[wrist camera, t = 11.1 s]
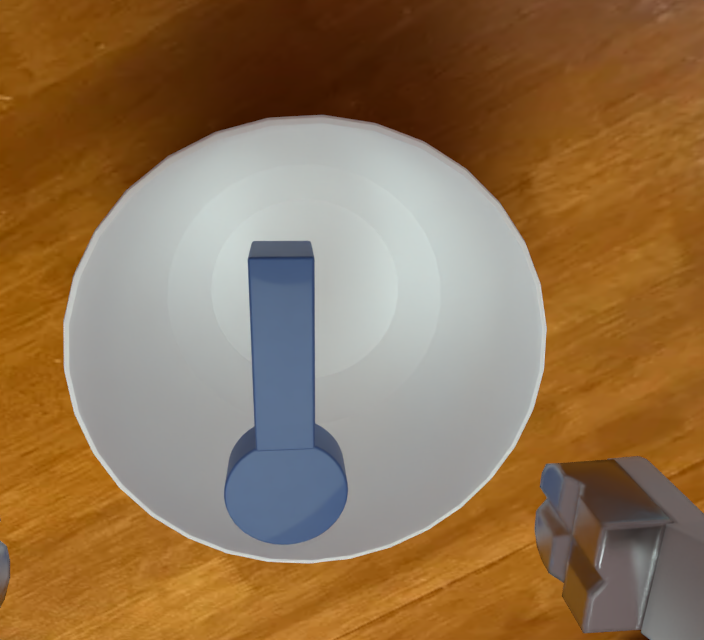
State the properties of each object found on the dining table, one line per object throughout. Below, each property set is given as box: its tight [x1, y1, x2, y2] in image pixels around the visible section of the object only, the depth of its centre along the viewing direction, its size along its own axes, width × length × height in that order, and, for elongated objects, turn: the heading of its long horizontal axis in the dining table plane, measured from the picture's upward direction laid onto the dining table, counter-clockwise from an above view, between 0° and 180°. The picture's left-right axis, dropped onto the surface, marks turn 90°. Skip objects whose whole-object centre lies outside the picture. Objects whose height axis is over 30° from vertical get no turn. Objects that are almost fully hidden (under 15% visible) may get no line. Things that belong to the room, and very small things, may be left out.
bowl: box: [64, 115, 547, 563], centre depth 24 cm, size 16×16×10 cm
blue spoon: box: [224, 241, 348, 545], centre depth 19 cm, size 10×4×2 cm, turn 179°
